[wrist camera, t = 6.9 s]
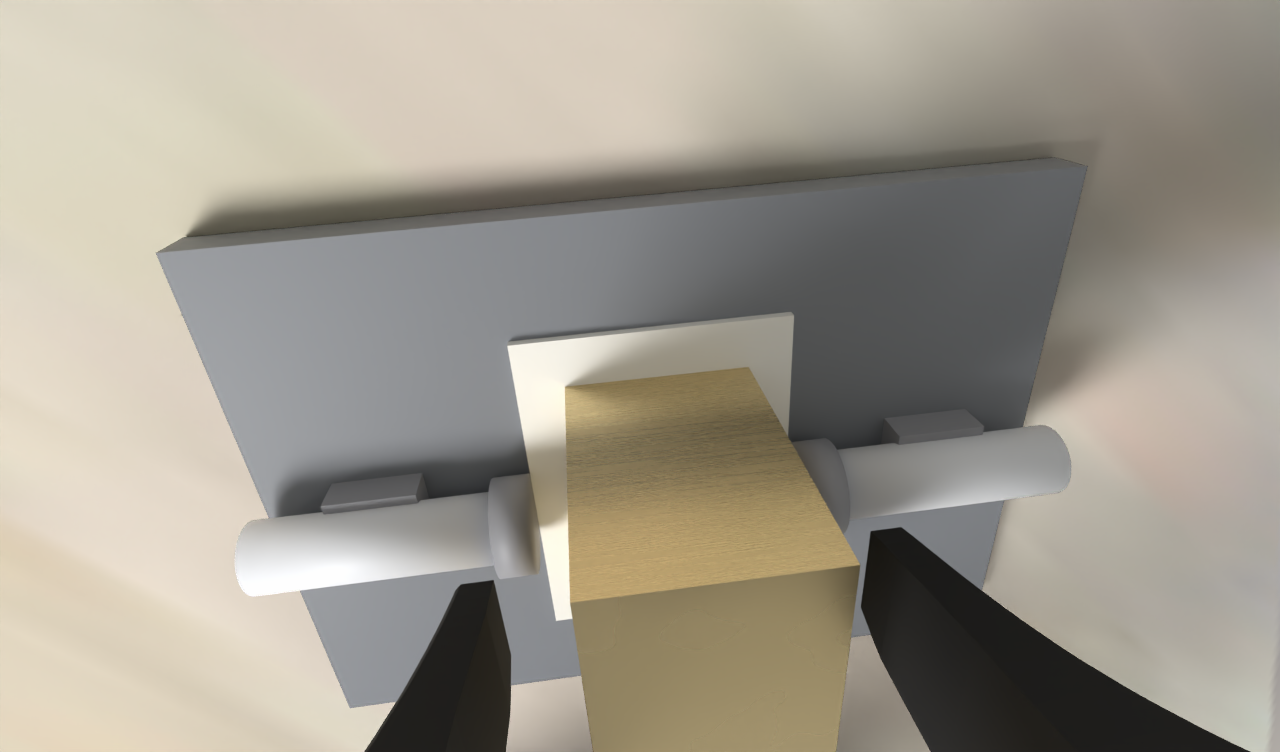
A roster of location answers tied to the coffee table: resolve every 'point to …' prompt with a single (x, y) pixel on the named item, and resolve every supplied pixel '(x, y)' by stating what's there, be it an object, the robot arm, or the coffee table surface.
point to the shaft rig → (616, 379)
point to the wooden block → (702, 571)
